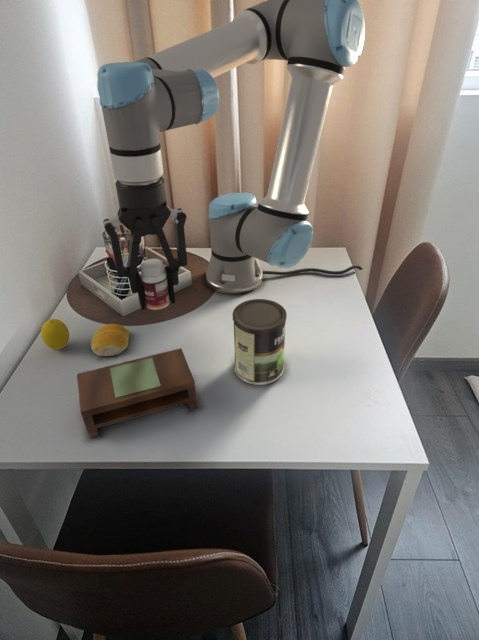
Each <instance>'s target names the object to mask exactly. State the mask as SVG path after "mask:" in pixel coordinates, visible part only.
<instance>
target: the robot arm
mask: <svg viewBox="0 0 479 640" xmlns="http://www.w3.org/2000/svg"><path fill="white" fill-rule="evenodd" d="M363 12H364V10H363V8H362V5H361V4H360V2H359V0H264V1H262V2H259V3H257V4H255V5H252V6H250V7H248V8H246V9H243V10H240V11H239V12H237V13H236V14H235V15H234V17H233V19H232V20H231V21H229V22H227V23H225V24H222V25H220V26H217V27H215V28H213V29H210V30H207V31H205V32H204V33H201V34H198V35H196V36H194V37H191V38H189V39H187V40H184V41H182V42H179V43H177V44H174V45H172V46H169V47H167V48H164V49H162V50H160V51H157V52H155V53H152V54H151V55H148V56H145V57H142V58H140V59H137V60H135V61H121V62H119V61H118V62H109V63H105V64H103V65H101V66H100V67H99V68H98V70H97V74H96V75H97V84H96V87H97V93H98V95H99V96H98V97H99V99H98V100H99V105H100V106H101V112H102V116H103V122H104V128H105V133H106V138H107V144H108V148H109V155H110V156H109V157H110V161H111V166H112V173H113V178H114V179H115V180H116V181H115V189H116V190H115V191H116V195H117V201H118V211H117V215H116V216H114V217H113V218H110V219H109V218H105V219H103V221H102V222H103V227H104V230H105V232H106V233H107V235H108V236H109V239H110V244H111V249H112V255H113V260H114V265H115V270H116V273H117V277H119V278H120V279H121V278H127V279H128V282H129V287H130V291H131V293H132V294H137V298H138V302H139V306H140V309H141V311H143V310H146V309H147V307H146V306H145V301H144V295H143V288H142V282H141V277H140V275H141V273H140V272H139V270H138V264H139V254H140V245H141V241H142V237H146V236H148V235H150V236H154V235H155V236H156V237H157V240H158V242H159V244H160V247H161V249H162V252H163V254H164V257H165V259H166V262H167V264H168V265H165V266H164V270H165V271H166V273H167V279H168V287H169V295H170V304H171V305H173V304H176V295H175V287H174V286H179V283H180V281H179V269H180V268H182V267H187V265H188V255H187V245H186V234H185V225H186V220H187V214H186V212H185V211H184V209H183V208H181V207H179V208H177V209H175V208H171V207H170V205H169V204H168V202H167V201H168V200H167V193H166V183H165V179H164V177H163V175H164V166H163V156H162V150H161V148H162V147H161V146H162V145H161V135H160V133H162V132H166V131H170V130H174V129H178V128H183V127H187V126H193V125H198V124H201V123H202V122H206V121H207V120H211V119H212V118H213V117H214V116H215V115H216V113H217V111H218V109H219V106H220V91H219V87H218V84H217V82H216V80H215V78H216V77H219V76H221V75H223V74H225V73H227V72H229V71H231V70H233V69H235V68H237V67H240V66H242V65H243V64H246V63H247V64H248V65H255V64H259V63H260V62H262V61H266V60H267V61H268V60H269V61H271V60H274V61H275V60H276V61H277V60H278V61H287V63H286V69H287V71H288V72H289V75H290V77H291V81H290V86H289V90H288V95H287V100H286V104H285V109H284V114H283V119H282V123H281V127H280V133H279V137H278V141H277V147H276V150H275V156H274V159H273V164H272V170H271V175H270V179H269V184H268V188H267V193H266V195H265V196H264V197H263V198H261V199H259V201H258V200H257V199H256V196H255V195H254V194H252V193H250V192H249V193H248V192H232V193H231V192H230V193H226V194H223V195H219V196H217V197H215V198H214V199H212V200H211V201H210V203H209V204H208V226H209V237H210V238H209V239H210V240H209V241H210V250H211V255H210V259H209V261H208V265H207V269H206V272H205V279H206V284H207V286H208V287H209V288H210V289H212V290H213V291H215V292H218V293H221V294H226V295H239V294H240V295H241V294H245V293H249V292H252V291H253V290H256V289H257V288H258V287H259V286H260V285H261V284H262V282H263V275H275V276H276V275H277V276H287V275H289V276H290V275H295V274H300V273H306V272H307V273H308V272H314V273H323V274H327V275H343V274H347V273H348V272H350V271H352V270H354V269H358V270H359V271H363V270H364V268H363V267H362V266H361V265H359V264H353V265H351V266H349V267H347V268H345V269H342V270H327V269H322V268H315V267H308V268H300V269H293V270H289V271H277V270H276V271H275V270H263V269H262V267H261V264H260V261H261V262H265V263H267V264H268V265H270V266H273V267H278V268H280V269H291V268H293V267H295V266H297V265H298V264H299V263H300V262H301V261H302V260H303V259H304V257H305V256H306V255H307V253H308V251H309V249H310V247H311V245H312V242H313V239H314V229H313V228H314V227H313V226H312V224H311V223H310V222H309V221H308V217H309V213H310V212H309V210H308V208H307V207H306V205H305V201H306V196H307V193H308V190H309V186H310V180H311V177H312V172H313V169H314V164H315V161H316V155H317V152H318V149H319V145H320V140H321V136H322V132H323V128H324V124H325V120H326V116H327V112H328V107H329V105H330V104H329V103H330V99H331V95H332V91H333V87H334V86H335V85H337V84H338V83H339V82H340V81H342V80H343V78H344V73H345V70H346V68H349V67H351V66H353V65H355V64H356V63H357V62H358V59H359V58H360V56H361V54H362V51H363V49H364V48H363V47H364V43H365V35H366V34H365V33H366V25H365V23H366V22H365V18H364V13H363ZM257 202H258V204H257ZM169 218H170V219H171V221H172V223H173V228H174V238H175V247H176V248H175V249H176V256H177V257H175V256H174V254H173V252H172V250H171V247H170V244H169V242H168V240H167V236H166V235H165V232H164V229H163V228H164V227H165V225H166V223H167V222H168V220H169ZM121 224H122V225H123V226H124V227H125V228H126V229H127V230H128V231H129V246H128V256H127V266H124V261H123V255H122V250H121V245H120V239H119V235H118V233H119V232H120V230H121V229H120V225H121Z"/></svg>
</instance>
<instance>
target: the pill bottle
mask: <svg viewBox="0 0 479 640" xmlns="http://www.w3.org/2000/svg"><path fill="white" fill-rule="evenodd" d="M139 268H140V277H141V282H142V288H143V295H144V301H145V307H146V309H149V310H153V311H158V310H163V309H165V308H167V307H168V306H169V305H170V304H171V302H170V295H169V287H168V279H167V273H166V271H165V266H164V262H163V260H161V259H158V258H148V259H145V260H143V261H142V262H141V263H140V265H139Z"/></svg>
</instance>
